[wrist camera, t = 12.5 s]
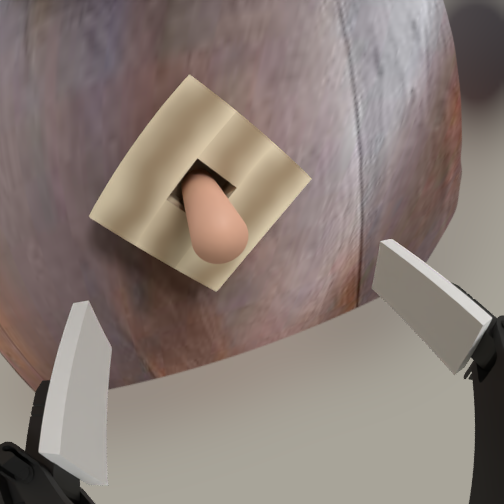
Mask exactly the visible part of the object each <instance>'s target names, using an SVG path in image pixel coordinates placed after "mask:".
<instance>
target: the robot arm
mask: <svg viewBox="0 0 504 504" xmlns="http://www.w3.org/2000/svg"><path fill="white" fill-rule="evenodd" d="M372 289H373V290H374V291H375V292H376V293H377V294H378V295H379V296H380V297H381V298H383V300H384V301H385V302H386V303H387V304H388V305H389V306H390V307H391V308H392V309H393V310H394V311H395V312H396V313H397V314H398V315H399V316H400V317H401V318H402V319H403V320H404V321H405V322H406V323H407V324H408V325H409V326H410V327H411V328H412V329H413V330H414V332H416V334H418V336H419V337H420V338H421V339H422V340H423V341H424V342H425V343H426V344H427V345H428V346H429V348H430V349H432V351H433V352H434V353H435V354H436V355H437V356H438V357H439V358H440V360H441V361H442V362H443V363H444V364H445V365H446V366H447V367H448V368H449V370H450V371H451V372H452V373H453V374H454V375H455V374H456V373H457V372H459V371H460V370H461V369H462V368H464V367H465V366H466V364H467V362H468V361H469V359H470V358H472V359H473V360H474V361H473V362H472V364H471V365H470V367H469V369H468V370H467V371H466V373H465V375H464V379H466V378H467V377H468V375H469V374H470V372H471V371H472V374H471V375H470V377H469V379H471V380H473V390H474V405H475V453H474V468H473V478H472V487H471V494H470V500H469V504H504V316H499V317H498V318H496V317H495V316H494V315H492V314H491V313H490V312H489V311H488V310H487V309H486V308H484V307H483V306H482V305H481V304H480V303H479V302H477V301H476V300H475V299H473V298H472V297H471V296H470V295H469V294H467V293H466V292H465V291H464V290H463V289H461V288H460V287H459V286H458V285H456V284H454V283H452V282H449V281H448V280H447V279H446V278H444V277H443V276H442V275H440V274H439V273H438V272H437V271H435V270H434V269H433V268H431V267H430V266H429V265H427V264H426V263H425V262H423V261H422V260H421V259H419V258H418V257H417V256H415V255H414V254H412V253H411V252H410V251H408V250H407V249H406V248H404V247H403V246H401V245H400V244H398V243H397V242H396V241H394V240H393V239H388V240H384V241H380V246H379V253H378V258H377V264H376V269H375V275H374V280H373V285H372ZM111 352H112V347H111V345H110V343H109V341H108V339H107V337H106V336H105V334H104V332H103V330H102V328H101V326H100V324H99V321H98V319H97V317H96V315H95V313H94V311H93V309H92V307H91V304H90V302H89V301H83V302H78V303H73V305H72V308H71V311H70V314H69V317H68V320H67V323H66V326H65V329H64V332H63V336H62V339H61V342H60V346H59V349H58V353H57V356H56V360H55V364H54V368H53V372H52V376H51V380H47V381H42V382H41V384H40V386H39V387H38V389H37V391H36V393H35V397H34V402H33V405H34V406H33V407H32V412H31V415H32V416H31V417H30V423H29V428H28V434H27V441H26V449H25V451H24V450H23V449H21V448H20V447H19V446H17V445H16V444H14V443H12V442H4V443H2V444H0V504H95V503H94V502H93V501H92V499H91V498H90V497H89V496H88V495H87V493H86V492H85V491H84V490H83V489H82V488H81V487H80V480H81V481H83V482H85V483H86V484H88V485H102V486H108V477H107V438H106V437H107V400H108V385H109V372H110V362H111Z"/></svg>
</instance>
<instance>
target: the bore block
mask: <svg viewBox="0 0 504 504" xmlns="http://www.w3.org/2000/svg"><path fill="white" fill-rule="evenodd" d="M195 169H202V170H205V171H207V172H209V173H210V174H211V176H212V177H213V178H214V180H215V181H216V183H217V184H218V185H219V187H220V188H221V190H222V191H223V192H224V194H225V195H226V197H227V198H228V199H229V201H230V202H231V204H232V205H233V206H234V208H235V209H236V211H237V212H238V214H239V215H240V216H241V218H242V219H243V221H244V222H245V224H246V226H247V229H248V242H247V245H246V247H245V249H244V251H243V252H242V253H241V254H240V255H239V256H238V257H237V258H235V259H234V260H232V261H230V262H227V263H223V264H212V263H208V262H206V261H204V260H202V259H201V258H200V257H199V256H198V255H197V254H196V253H195V251H194V249H193V247H192V242H191V237H190V232H189V227H188V222H187V217H186V211H185V206H184V200H183V195H182V189H181V183H182V180H183V178H184V176H185V175H186V174H187V173H188V172H190V171H192V170H195ZM311 179H312V178H311V177H309V176H308V175H307V174H306V173H305V172H304V171H303V170H302V169H301V168H300V167H299V166H298V165H297V164H296V163H295V162H294V161H293V160H292V159H291V158H290V157H288V156H287V155H286V154H285V153H284V152H283V151H282V150H281V149H280V148H279V147H278V146H276V145H275V144H274V143H273V142H272V141H271V140H270V139H269V138H268V137H266V136H265V135H264V134H263V133H262V132H261V131H260V130H258V129H257V128H256V127H255V126H254V125H253V124H251V123H250V122H249V121H248V120H247V119H245V118H244V117H243V116H242V115H241V114H239V113H238V112H237V111H236V110H235V109H233V108H232V107H231V106H230V105H228V104H227V103H226V102H225V101H223V100H222V99H221V98H220V97H218V96H217V95H216V94H215V93H213V92H212V91H211V90H209V89H208V88H207V87H205V86H204V85H203V84H201V83H200V82H199V81H197V80H196V79H195V78H193V77H192V76H191V75H188V76H187V78H186V79H185V80H184V81H183V82H182V83H181V84H180V85H179V87H178V88H177V89H176V90H175V91H174V92H173V94H172V95H171V96H170V97H169V98H168V100H167V101H166V102H165V103H164V104H163V106H162V107H161V108H160V109H159V111H158V112H157V113H156V114H155V116H154V117H153V118H152V120H151V121H150V122H149V124H148V125H147V126H146V128H145V129H144V130H143V132H142V133H141V134H140V136H139V137H138V139H137V140H136V141H135V143H134V144H133V146H132V147H131V148H130V150H129V151H128V153H127V154H126V156H125V157H124V159H123V160H122V162H121V163H120V165H119V166H118V168H117V169H116V171H115V173H114V174H113V176H112V177H111V179H110V181H109V182H108V184H107V185H106V187H105V189H104V190H103V192H102V194H101V196H100V197H99V199H98V201H97V202H96V204H95V206H94V208H93V210H92V211H91V213H90V215H89V217H90V218H91V219H93V220H95V221H96V222H98V223H99V224H101V225H102V226H104V227H106V228H107V229H109V230H110V231H112V232H114V233H115V234H117V235H119V236H120V237H122V238H123V239H125V240H127V241H128V242H130V243H132V244H133V245H135V246H137V247H138V248H140V249H142V250H143V251H145V252H147V253H148V254H150V255H152V256H154V257H155V258H157V259H159V260H160V261H162V262H164V263H166V264H167V265H169V266H171V267H173V268H174V269H176V270H178V271H180V272H181V273H183V274H185V275H187V276H189V277H190V278H192V279H194V280H196V281H198V282H199V283H201V284H203V285H205V286H207V287H208V288H210V289H212V290H214V291H216V292H217V291H218V289H219V288H220V287H221V286H222V285H223V284H224V282H225V281H226V280H227V279H228V278H229V276H230V275H231V274H232V273H233V272H234V270H235V269H236V268H237V267H238V266H239V264H240V263H241V262H242V261H243V260H244V259H245V257H246V256H247V255H248V254H249V253H250V251H251V250H252V249H253V248H254V247H255V245H256V244H257V243H258V242H259V241H260V240H261V238H262V237H263V236H264V235H265V234H266V232H267V231H268V230H269V229H270V228H271V226H272V225H273V224H274V223H275V222H276V221H277V219H278V218H279V217H280V216H281V215H282V213H283V212H284V211H285V210H286V209H287V207H288V206H289V205H290V204H291V203H292V202H293V200H294V199H295V198H296V197H297V196H298V194H299V193H300V192H301V191H302V190H303V188H304V187H305V186H306V185H307V184H308V183H309V181H310V180H311Z"/></svg>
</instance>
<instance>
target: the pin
mask: <svg viewBox="0 0 504 504" xmlns="http://www.w3.org/2000/svg"><path fill="white" fill-rule="evenodd" d="M181 189H182V195H183V200H184V206H185V211H186V217H187V222H188V227H189V232H190V237H191V242H192V247H193V249H194V251H195V253H196V254H197V255H198V256H199V257H200V258H201V259H202V260H204V261H206V262H208V263H212V264H223V263H227V262H230V261H232V260H234V259H235V258H237V257H238V256H239V255H240V254H241V253H242V252H243V251H244V249H245V247H246V245H247V242H248V229H247V226H246V224H245V222H244V221H243V219H242V218H241V216H240V215H239V214H238V212H237V211H236V209H235V208H234V206H233V205H232V204H231V202H230V201H229V199H228V198H227V197H226V195H225V194H224V192H223V191H222V190H221V188H220V187H219V185H218V184H217V183H216V181H215V180H214V178H213V177H212V176H211V174H210V173H209V172H207V171H205V170H202V169H195V170H192V171H190V172H188V173H187V174H186V175H185V176H184V178H183V180H182V183H181Z"/></svg>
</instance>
